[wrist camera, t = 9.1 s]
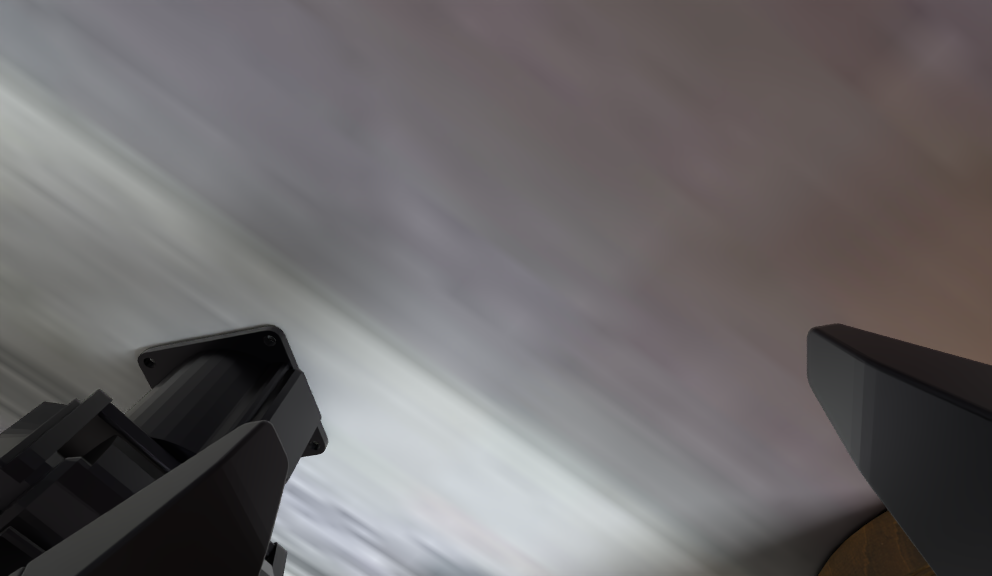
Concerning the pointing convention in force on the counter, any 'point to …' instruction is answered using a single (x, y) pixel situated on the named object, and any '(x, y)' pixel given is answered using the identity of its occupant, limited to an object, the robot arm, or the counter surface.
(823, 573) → the wooden container
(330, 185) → the counter surface
